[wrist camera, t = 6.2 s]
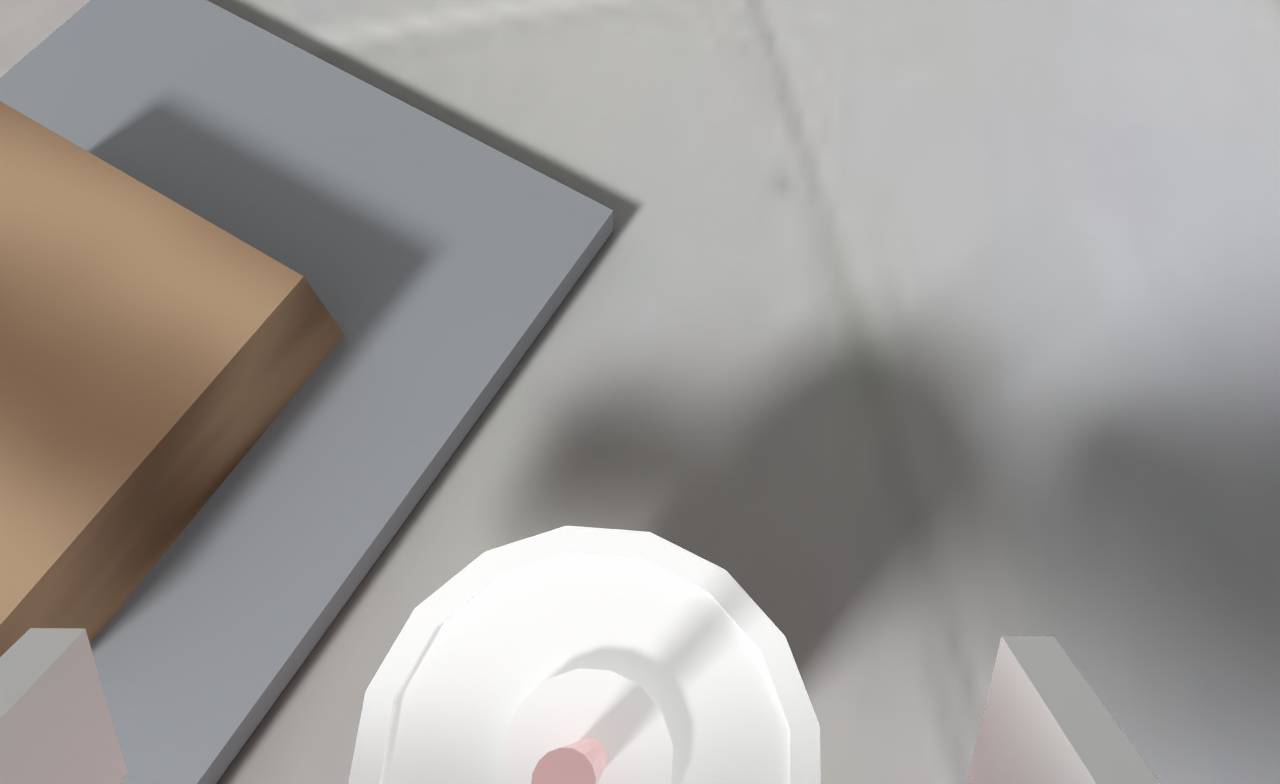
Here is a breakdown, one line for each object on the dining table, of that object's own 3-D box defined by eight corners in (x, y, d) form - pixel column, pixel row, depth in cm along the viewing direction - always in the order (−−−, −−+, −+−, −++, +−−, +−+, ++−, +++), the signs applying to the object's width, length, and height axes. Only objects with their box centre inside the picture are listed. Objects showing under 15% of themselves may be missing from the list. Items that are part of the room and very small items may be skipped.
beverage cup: (428, 851, 18) (-65, 1169, 5) (517, 578, 20) (337, 315, 7) (699, 936, 18) (926, 1531, 5) (759, 647, 20) (1025, 496, 7)
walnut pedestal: (84, 190, 24) (-12, 94, 20) (355, 350, 22) (303, 276, 19) (-205, 469, 21) (-384, 414, 17) (86, 683, 19) (-42, 672, 15)
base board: (151, -12, 27) (134, -38, 26) (613, 230, 24) (613, 210, 23) (-578, 631, 19) (-638, 626, 18) (-26, 1119, 16) (-65, 1143, 15)
